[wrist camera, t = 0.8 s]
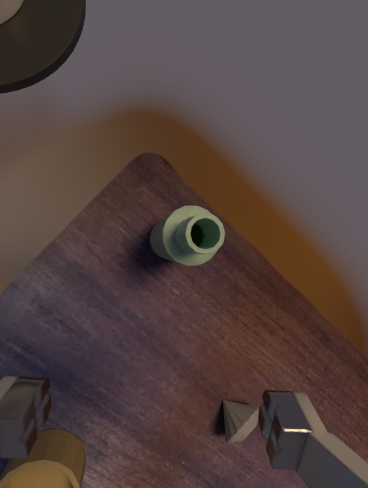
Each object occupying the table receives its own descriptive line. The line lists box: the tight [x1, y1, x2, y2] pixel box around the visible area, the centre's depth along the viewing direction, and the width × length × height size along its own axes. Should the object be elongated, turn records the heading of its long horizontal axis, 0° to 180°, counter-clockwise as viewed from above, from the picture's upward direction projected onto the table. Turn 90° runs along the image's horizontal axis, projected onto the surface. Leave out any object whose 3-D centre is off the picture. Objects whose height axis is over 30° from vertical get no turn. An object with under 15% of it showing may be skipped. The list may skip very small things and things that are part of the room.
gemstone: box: [223, 400, 258, 443], centre depth 37 cm, size 6×6×5 cm
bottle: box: [150, 206, 225, 266], centre depth 28 cm, size 6×6×16 cm
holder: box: [0, 429, 86, 488], centre depth 30 cm, size 9×9×5 cm
